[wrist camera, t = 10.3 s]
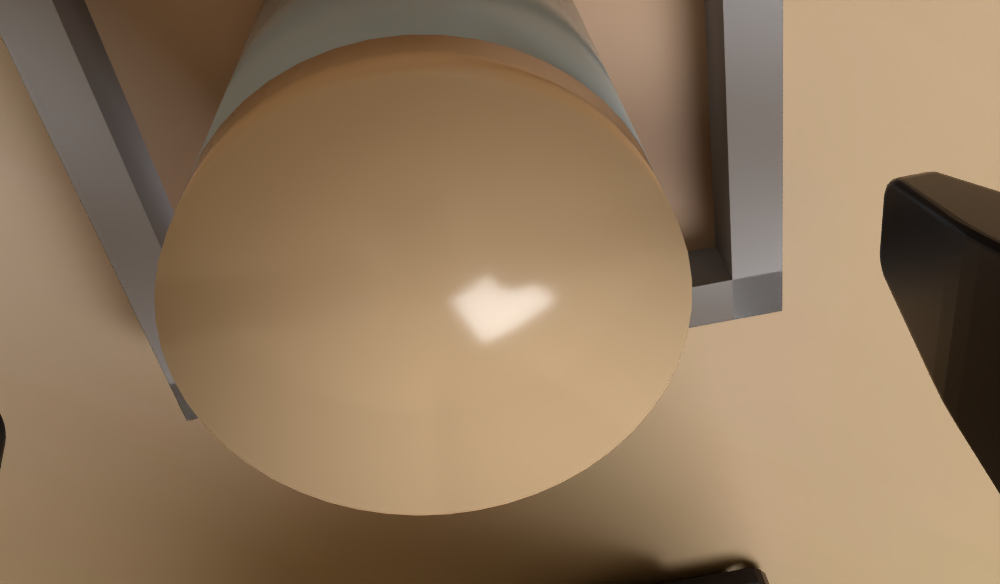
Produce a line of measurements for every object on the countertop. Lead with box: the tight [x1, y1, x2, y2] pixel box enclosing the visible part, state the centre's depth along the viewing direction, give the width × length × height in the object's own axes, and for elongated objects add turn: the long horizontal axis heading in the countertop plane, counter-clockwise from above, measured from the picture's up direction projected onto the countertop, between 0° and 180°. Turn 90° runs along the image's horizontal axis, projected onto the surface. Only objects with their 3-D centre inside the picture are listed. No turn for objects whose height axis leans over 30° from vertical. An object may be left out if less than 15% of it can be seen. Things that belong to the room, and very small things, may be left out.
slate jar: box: [154, 0, 692, 515], centre depth 11 cm, size 5×5×6 cm
